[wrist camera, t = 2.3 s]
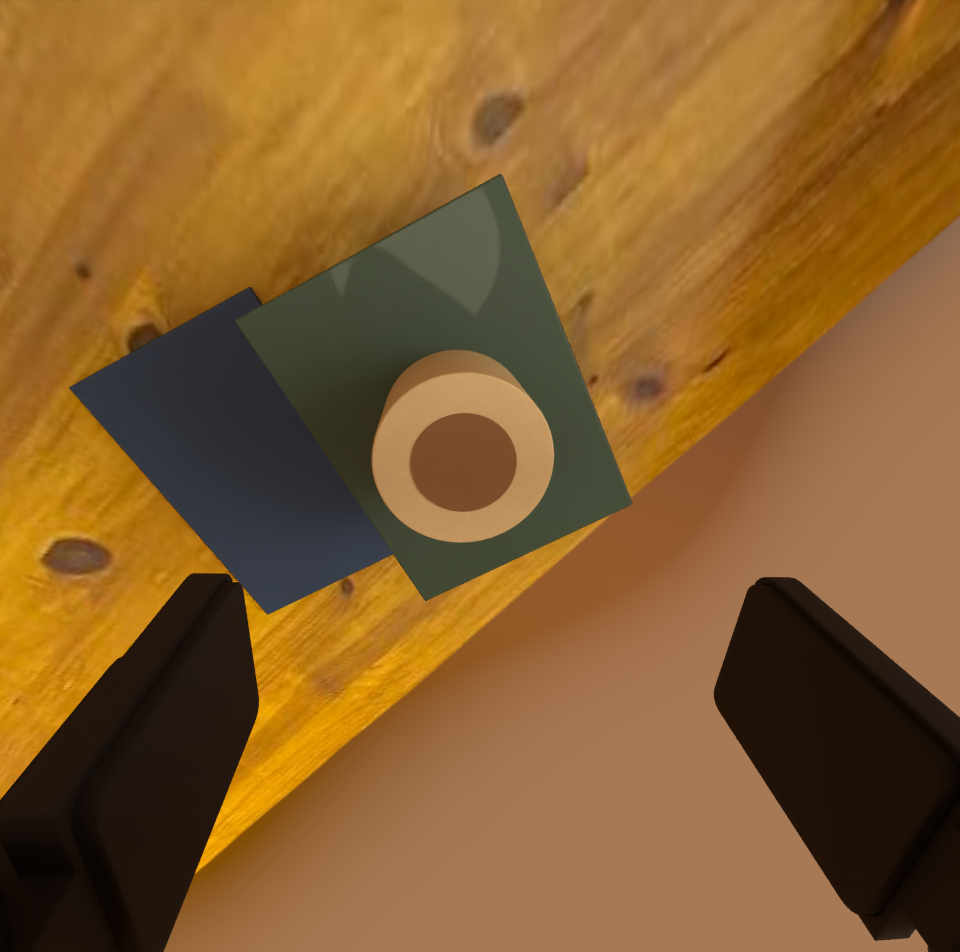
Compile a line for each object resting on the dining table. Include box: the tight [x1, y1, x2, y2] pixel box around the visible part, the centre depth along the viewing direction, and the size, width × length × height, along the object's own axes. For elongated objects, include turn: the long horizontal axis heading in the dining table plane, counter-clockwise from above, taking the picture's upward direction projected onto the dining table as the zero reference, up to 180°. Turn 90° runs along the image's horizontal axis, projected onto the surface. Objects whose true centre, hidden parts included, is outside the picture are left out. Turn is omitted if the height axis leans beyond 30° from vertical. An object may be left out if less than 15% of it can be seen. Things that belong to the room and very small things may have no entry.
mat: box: [69, 287, 393, 614], centre depth 33 cm, size 13×20×1 cm, turn 26°
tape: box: [372, 350, 554, 543], centre depth 20 cm, size 7×7×5 cm
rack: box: [235, 174, 632, 601], centre depth 27 cm, size 12×16×11 cm
